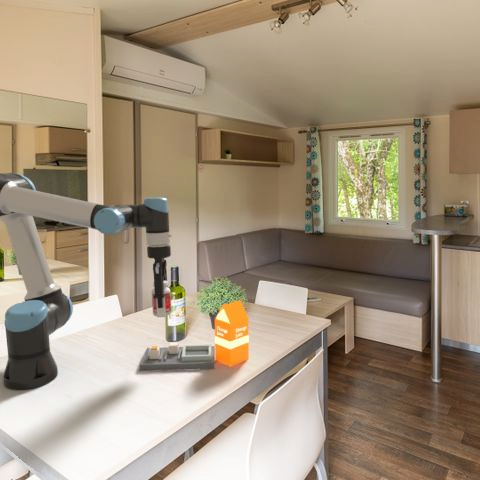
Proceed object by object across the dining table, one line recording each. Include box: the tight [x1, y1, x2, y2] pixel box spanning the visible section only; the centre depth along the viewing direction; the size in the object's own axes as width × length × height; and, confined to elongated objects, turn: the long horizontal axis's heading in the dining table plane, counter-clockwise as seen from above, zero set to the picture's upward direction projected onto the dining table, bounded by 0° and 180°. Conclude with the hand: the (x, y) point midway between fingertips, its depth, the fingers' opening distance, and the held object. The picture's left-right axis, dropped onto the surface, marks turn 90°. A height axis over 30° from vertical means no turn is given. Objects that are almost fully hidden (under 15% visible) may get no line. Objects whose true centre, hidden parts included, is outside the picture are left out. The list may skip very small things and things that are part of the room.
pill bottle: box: [151, 280, 172, 317], centre depth 140 cm, size 6×6×11 cm
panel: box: [139, 344, 216, 372], centre depth 144 cm, size 24×14×4 cm, turn 93°
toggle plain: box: [168, 341, 180, 354], centre depth 146 cm, size 3×3×3 cm
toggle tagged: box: [149, 345, 161, 359], centre depth 142 cm, size 3×3×3 cm
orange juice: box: [214, 299, 250, 367], centre depth 144 cm, size 8×9×20 cm
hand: (162, 313), depth 141 cm, fingers closed on pill bottle, 6 cm apart
